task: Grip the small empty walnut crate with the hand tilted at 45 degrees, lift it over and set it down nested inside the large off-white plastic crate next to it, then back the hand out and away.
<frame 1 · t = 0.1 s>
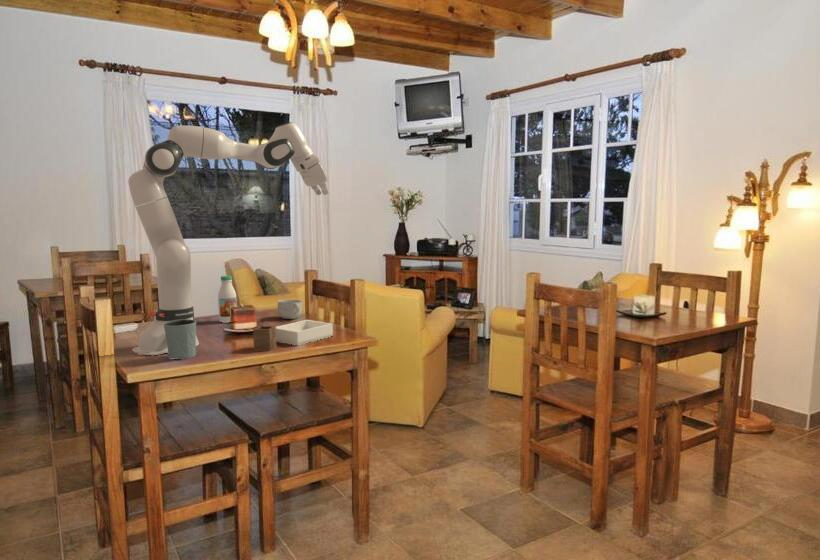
hand: (322, 194, 233), 54 cm above the table, tool tilted 30°, fingers open, 8 cm apart
green cup: (182, 357, 202), on the table
teacup: (291, 319, 265), on the table
white crate: (302, 338, 227), on the table
walnut crate: (265, 348, 212), on the table
milk bottle: (228, 322, 260), on the table
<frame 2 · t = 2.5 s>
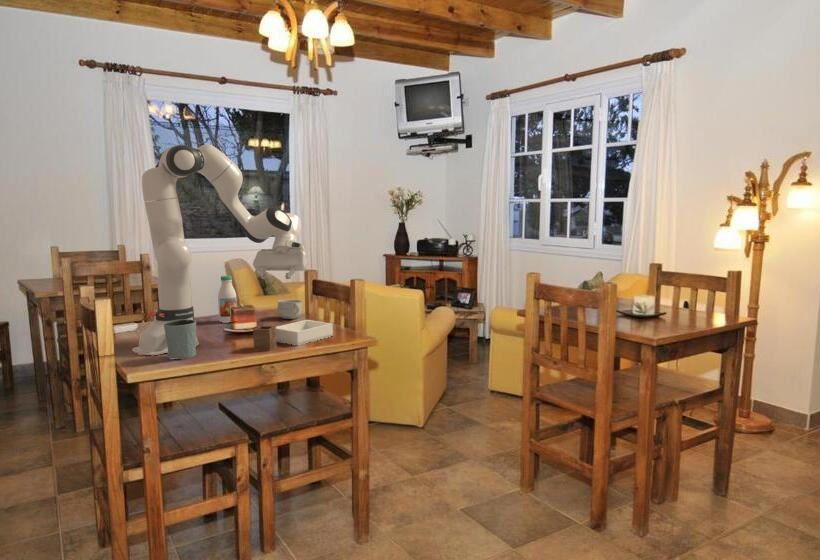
hand: (275, 278, 222), 23 cm above the table, tool tilted 45°, fingers open, 8 cm apart
nothing on the table moved.
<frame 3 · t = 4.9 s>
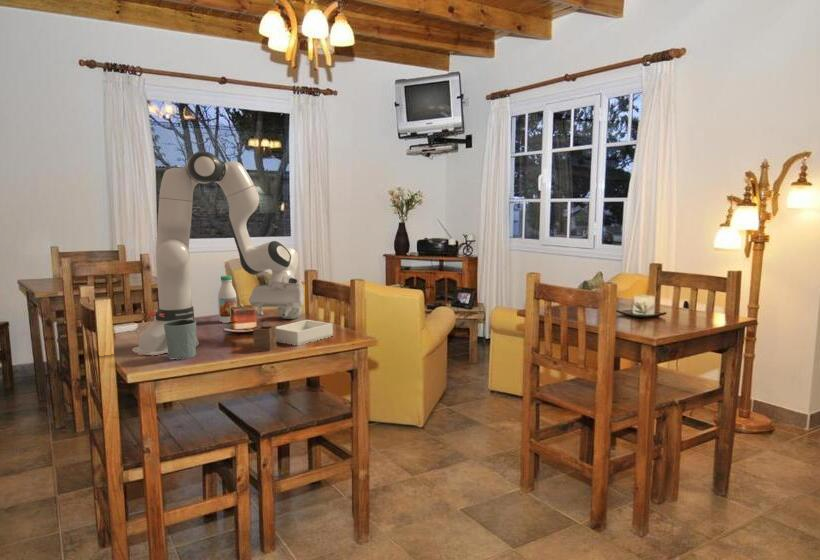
hand: (272, 315, 218), 10 cm above the table, tool tilted 45°, fingers open, 8 cm apart
nothing on the table moved.
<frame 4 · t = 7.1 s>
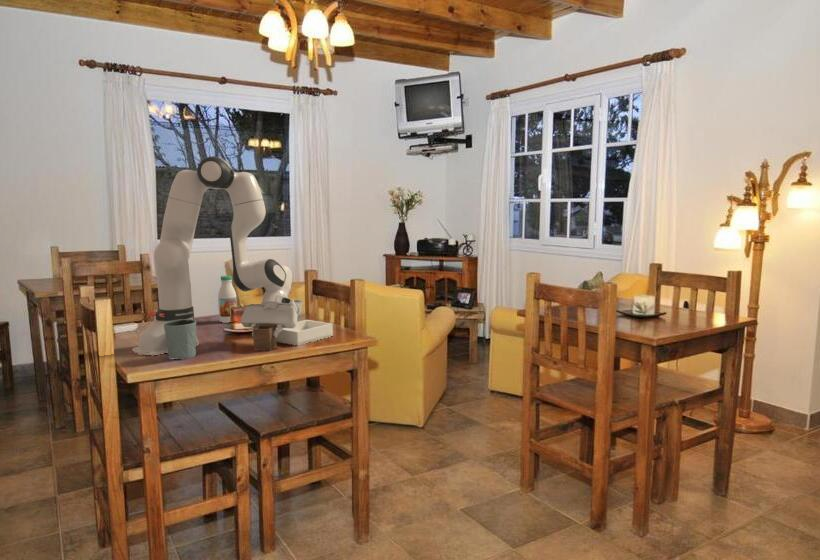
hand: (264, 336, 211), 4 cm above the table, tool tilted 45°, fingers closed on walnut crate, 6 cm apart
walnut crate: (265, 348, 212), on the table, touching gripper
everything else where it was.
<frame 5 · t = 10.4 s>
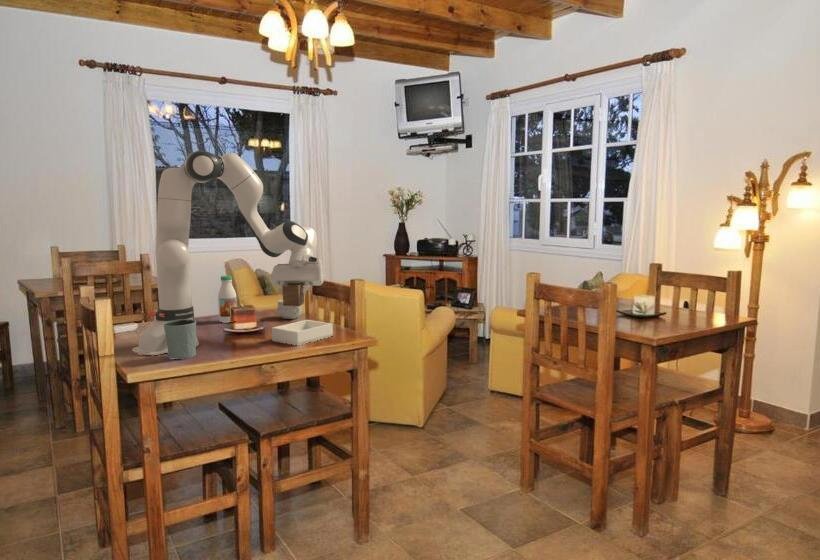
hand: (292, 293, 220), 18 cm above the table, tool tilted 45°, fingers closed on walnut crate, 6 cm apart
walnut crate: (294, 304, 221), point 14 cm above the table, touching gripper
everything else where it was.
when the fingers open (7 cm above the table, at t = 13.9 s): walnut crate drops 1 cm, resting on white crate.
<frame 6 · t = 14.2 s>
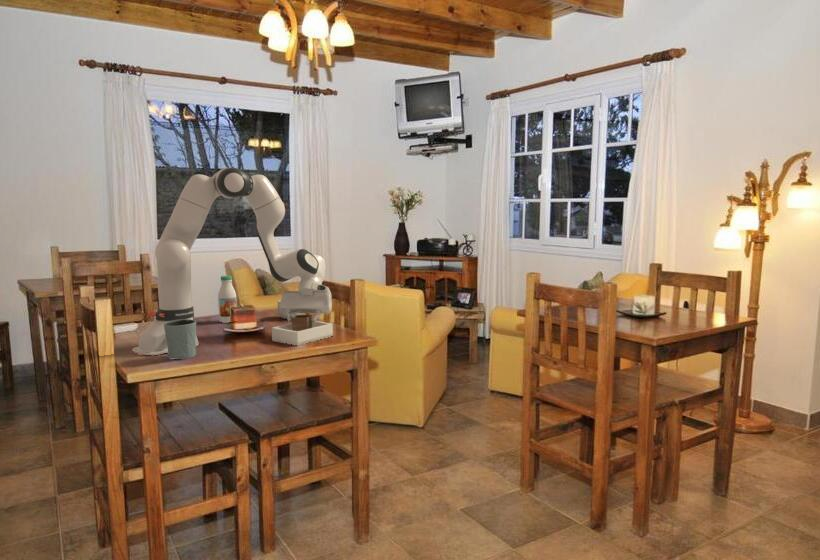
hand: (301, 321, 225), 7 cm above the table, tool tilted 45°, fingers open, 8 cm apart
walnut crate: (302, 336, 226), point 1 cm above the table, touching white crate
everything else where it was.
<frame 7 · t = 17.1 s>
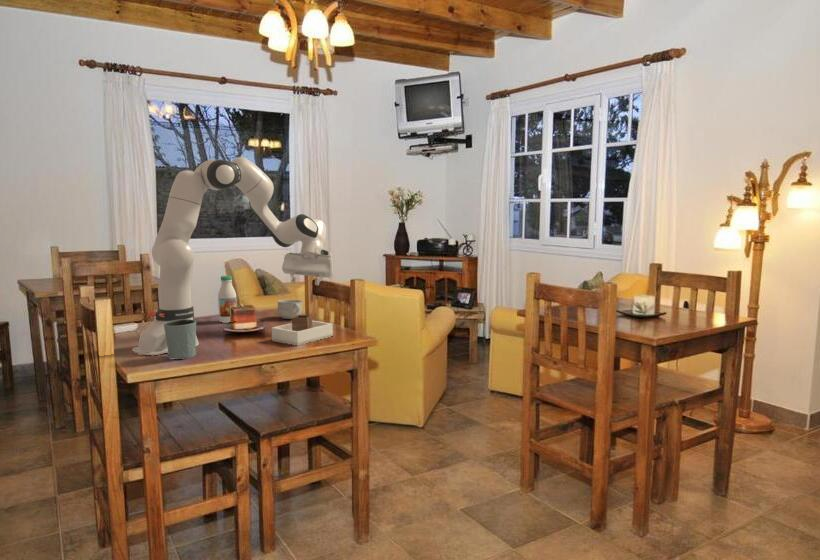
hand: (304, 283, 235), 20 cm above the table, tool tilted 40°, fingers open, 8 cm apart
nothing on the table moved.
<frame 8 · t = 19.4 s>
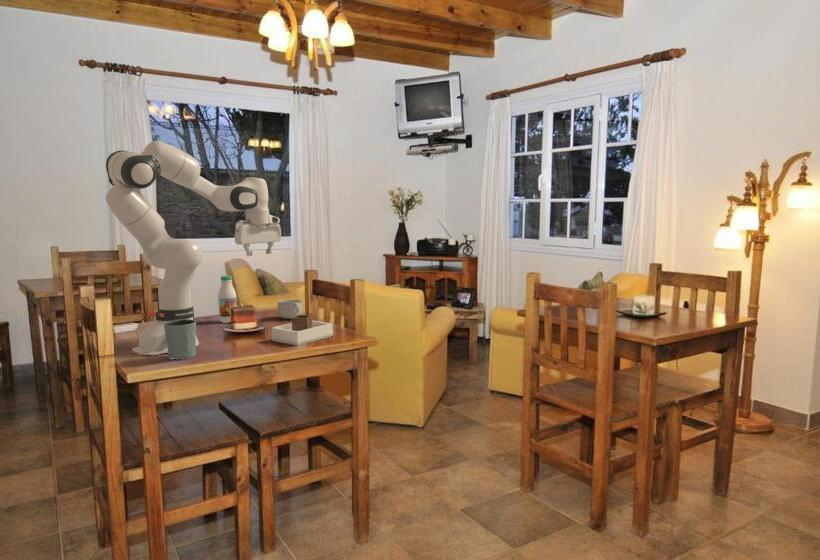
hand: (259, 254, 233), 31 cm above the table, tool pointing down, fingers open, 8 cm apart
nothing on the table moved.
at the end: walnut crate inside the target area on the white crate (0.1 cm from its centre), point 1.0 cm above the white crate's base; walnut crate tilted 0°; the gripper is holding nothing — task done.
